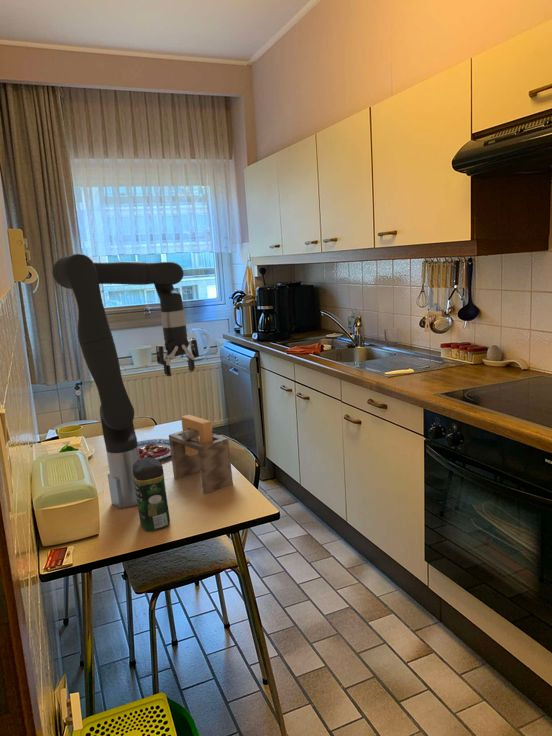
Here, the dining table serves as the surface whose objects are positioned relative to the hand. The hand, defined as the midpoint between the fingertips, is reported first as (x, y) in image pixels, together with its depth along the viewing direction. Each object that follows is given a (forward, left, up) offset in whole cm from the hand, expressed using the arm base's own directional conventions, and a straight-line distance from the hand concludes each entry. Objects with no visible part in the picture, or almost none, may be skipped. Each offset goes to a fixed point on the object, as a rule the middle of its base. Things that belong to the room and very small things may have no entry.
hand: (180, 373), depth 186 cm
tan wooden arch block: (-2, -9, -27) cm, 28 cm away
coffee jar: (-28, -25, -35) cm, 51 cm away
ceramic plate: (-2, +30, -35) cm, 46 cm away
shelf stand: (-2, -9, -35) cm, 36 cm away
